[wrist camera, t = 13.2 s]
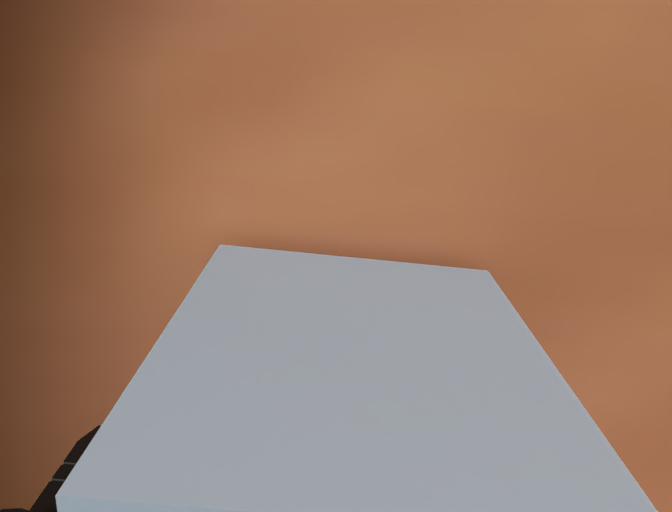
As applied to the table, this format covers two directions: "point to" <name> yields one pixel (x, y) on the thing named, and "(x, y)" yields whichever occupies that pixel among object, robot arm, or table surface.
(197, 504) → the hollow square cube
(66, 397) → the table surface
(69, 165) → the table surface
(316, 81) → the table surface
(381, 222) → the table surface
